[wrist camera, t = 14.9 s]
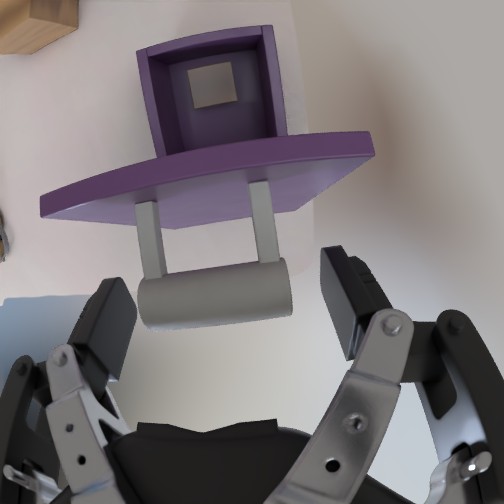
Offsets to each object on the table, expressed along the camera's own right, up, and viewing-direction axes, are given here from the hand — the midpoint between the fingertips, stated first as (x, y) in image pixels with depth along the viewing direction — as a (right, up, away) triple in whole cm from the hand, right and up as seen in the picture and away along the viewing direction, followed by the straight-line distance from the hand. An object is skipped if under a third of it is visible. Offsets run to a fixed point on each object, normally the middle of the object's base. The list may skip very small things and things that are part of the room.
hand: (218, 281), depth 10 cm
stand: (-23, +30, +5) cm, 39 cm away
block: (-2, +18, +14) cm, 23 cm away
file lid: (-1, +4, +5) cm, 6 cm away
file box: (-2, +16, +16) cm, 23 cm away
